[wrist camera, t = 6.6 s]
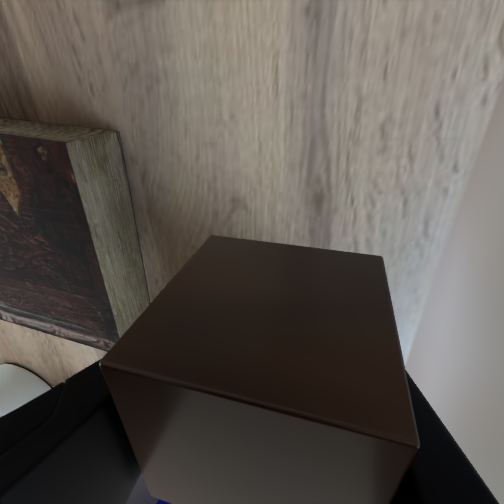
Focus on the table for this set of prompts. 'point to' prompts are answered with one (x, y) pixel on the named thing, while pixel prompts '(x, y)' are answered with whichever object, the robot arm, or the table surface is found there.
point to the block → (267, 380)
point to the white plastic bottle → (18, 387)
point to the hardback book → (68, 233)
